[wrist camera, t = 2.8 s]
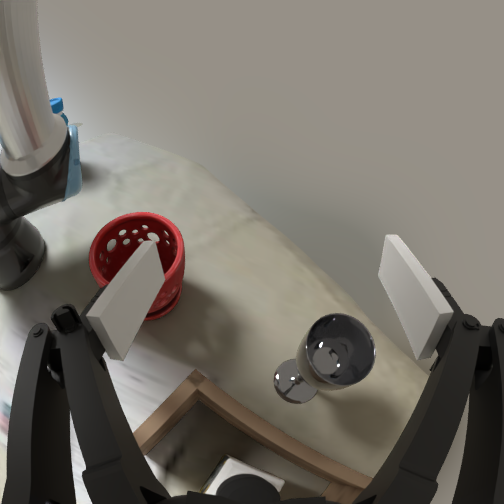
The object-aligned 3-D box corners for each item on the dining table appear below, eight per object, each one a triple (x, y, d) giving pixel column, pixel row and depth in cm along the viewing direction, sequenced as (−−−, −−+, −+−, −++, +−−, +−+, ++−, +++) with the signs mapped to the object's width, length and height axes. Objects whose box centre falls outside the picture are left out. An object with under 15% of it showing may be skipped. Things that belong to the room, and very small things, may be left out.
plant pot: (98, 283, 40) (75, 236, 31) (161, 249, 47) (155, 198, 38) (133, 346, 35) (110, 310, 26) (203, 302, 42) (205, 256, 33)
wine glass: (272, 407, 33) (311, 389, 22) (269, 356, 38) (301, 312, 27) (324, 403, 34) (381, 379, 23) (318, 355, 39) (367, 312, 28)
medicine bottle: (224, 453, 28) (233, 461, 19) (271, 473, 27) (301, 487, 18) (198, 491, 24) (196, 515, 14) (247, 512, 22) (266, 541, 13)
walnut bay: (293, 542, 19) (320, 565, 11) (137, 447, 26) (115, 450, 18) (343, 477, 27) (382, 482, 19) (197, 385, 34) (195, 368, 26)
